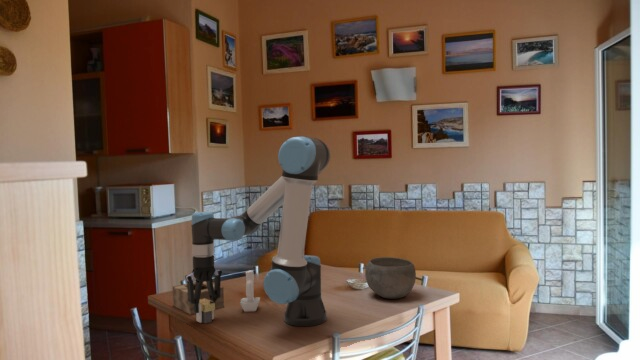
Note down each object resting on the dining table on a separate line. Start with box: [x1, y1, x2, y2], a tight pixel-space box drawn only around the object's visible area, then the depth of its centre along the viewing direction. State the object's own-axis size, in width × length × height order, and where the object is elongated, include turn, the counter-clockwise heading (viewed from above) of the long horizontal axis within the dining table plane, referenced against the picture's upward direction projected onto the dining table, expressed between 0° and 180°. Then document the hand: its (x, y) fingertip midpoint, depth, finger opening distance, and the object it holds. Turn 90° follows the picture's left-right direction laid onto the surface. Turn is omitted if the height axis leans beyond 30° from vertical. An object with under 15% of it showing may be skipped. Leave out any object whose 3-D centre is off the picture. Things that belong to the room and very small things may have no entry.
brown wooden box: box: [172, 281, 225, 316], centre depth 181 cm, size 16×14×8 cm
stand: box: [201, 311, 212, 324], centre depth 164 cm, size 5×2×4 cm, turn 41°
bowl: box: [364, 256, 417, 300], centre depth 190 cm, size 21×21×15 cm
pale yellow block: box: [199, 298, 216, 312], centre depth 164 cm, size 8×4×2 cm, turn 41°
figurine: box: [239, 269, 261, 313], centre depth 176 cm, size 7×9×15 cm
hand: (205, 319), depth 164 cm, fingers closed on pale yellow block, 4 cm apart
